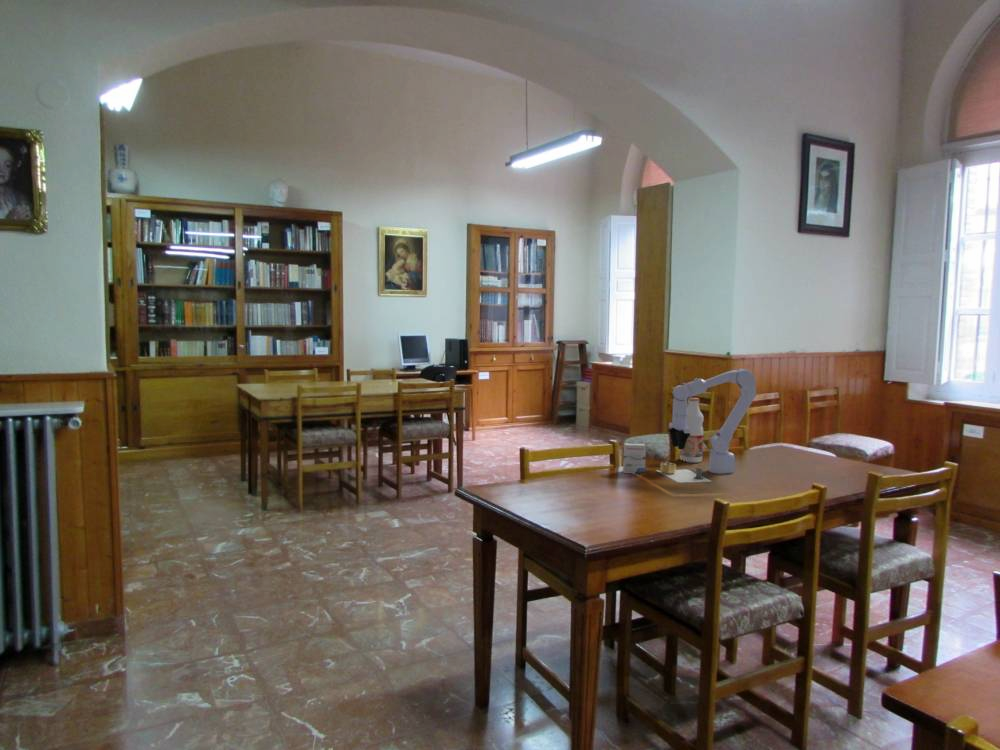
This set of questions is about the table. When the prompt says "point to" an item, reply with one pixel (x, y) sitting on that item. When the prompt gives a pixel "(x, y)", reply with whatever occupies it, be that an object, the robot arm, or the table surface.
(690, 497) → the table surface
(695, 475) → the board
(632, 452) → the ink box
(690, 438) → the fruit juice
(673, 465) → the ring
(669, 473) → the hub
